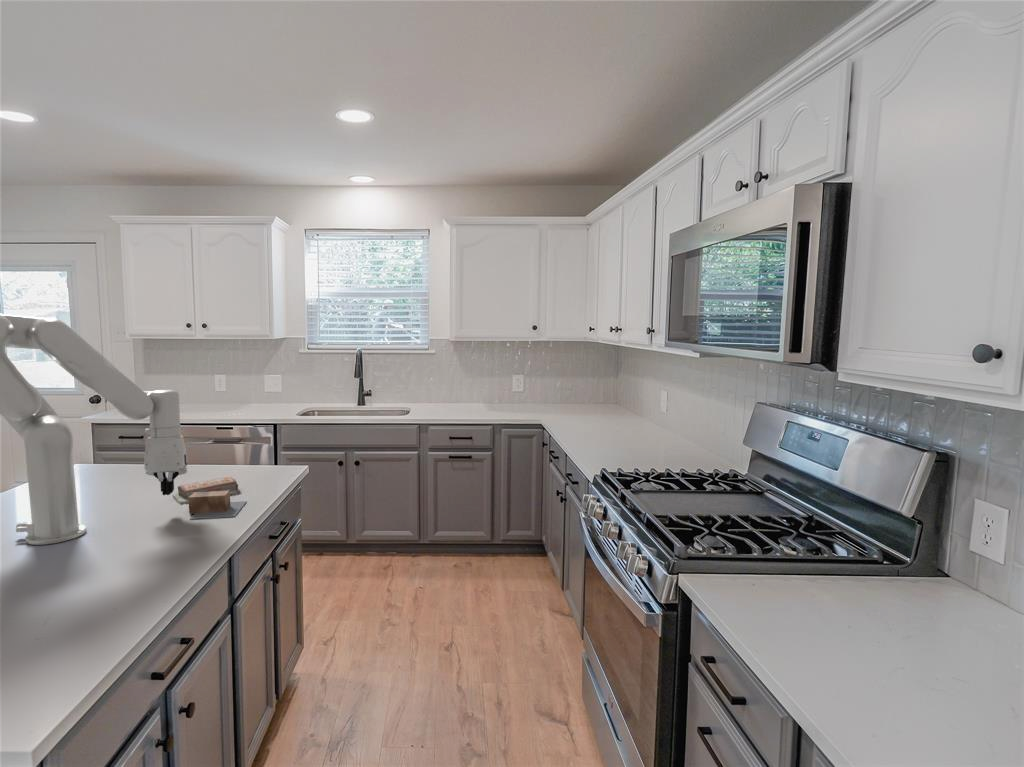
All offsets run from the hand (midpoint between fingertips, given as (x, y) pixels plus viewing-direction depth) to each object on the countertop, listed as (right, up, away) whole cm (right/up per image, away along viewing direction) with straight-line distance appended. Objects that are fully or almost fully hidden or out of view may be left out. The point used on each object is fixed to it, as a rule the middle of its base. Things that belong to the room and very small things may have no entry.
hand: (167, 493), depth 169 cm
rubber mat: (+13, -6, +4) cm, 15 cm away
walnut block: (+6, -3, +2) cm, 7 cm away
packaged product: (+1, -5, +19) cm, 20 cm away
